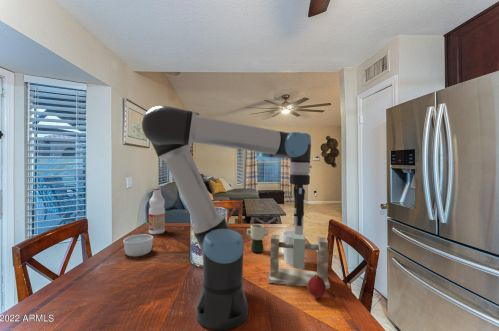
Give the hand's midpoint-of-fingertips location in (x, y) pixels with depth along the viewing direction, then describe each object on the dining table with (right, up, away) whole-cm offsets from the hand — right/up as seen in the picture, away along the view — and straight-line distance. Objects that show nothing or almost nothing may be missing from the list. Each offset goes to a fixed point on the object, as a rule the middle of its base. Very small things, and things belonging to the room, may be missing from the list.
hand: (298, 229), depth 91 cm
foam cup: (+1, -20, +16) cm, 26 cm away
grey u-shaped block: (0, -13, 0) cm, 13 cm away
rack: (0, -19, 0) cm, 19 cm away
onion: (+4, -20, -12) cm, 23 cm away
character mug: (-15, -19, +29) cm, 38 cm away
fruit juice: (-77, -18, +58) cm, 98 cm away
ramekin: (-73, -18, +25) cm, 79 cm away
